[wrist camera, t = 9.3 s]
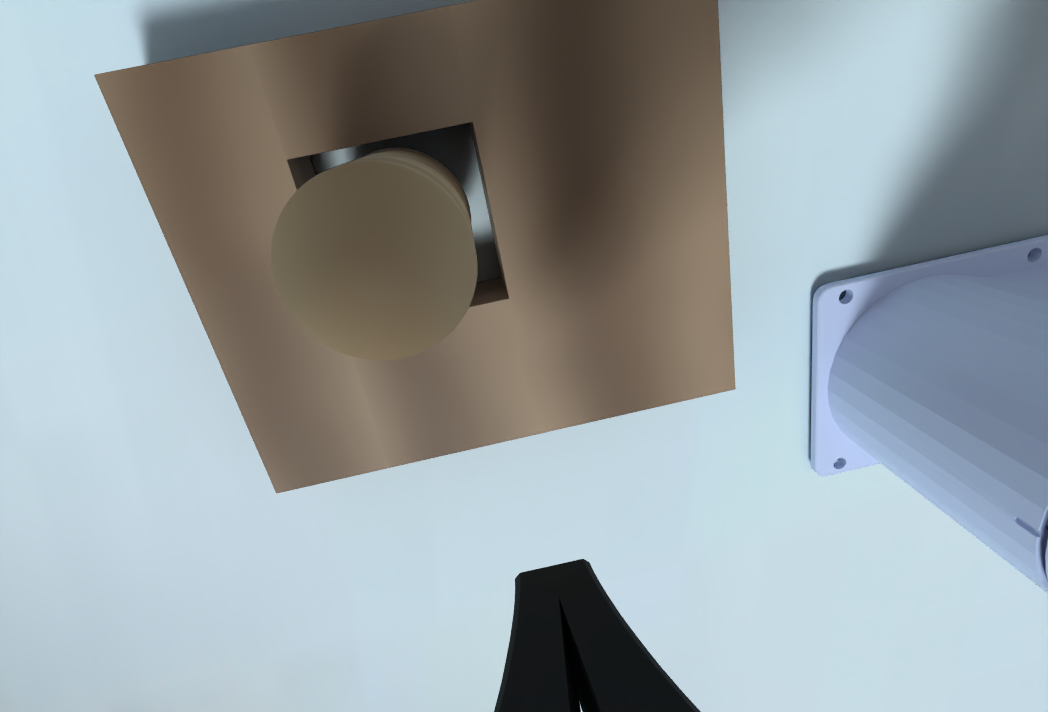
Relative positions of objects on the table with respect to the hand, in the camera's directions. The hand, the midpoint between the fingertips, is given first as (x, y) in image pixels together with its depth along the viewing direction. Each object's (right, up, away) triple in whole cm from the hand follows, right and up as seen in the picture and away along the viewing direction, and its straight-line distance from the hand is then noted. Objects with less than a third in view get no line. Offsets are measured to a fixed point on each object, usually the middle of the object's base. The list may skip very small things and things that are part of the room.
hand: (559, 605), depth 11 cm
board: (-3, +8, +7) cm, 11 cm away
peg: (-4, +9, +7) cm, 12 cm away
